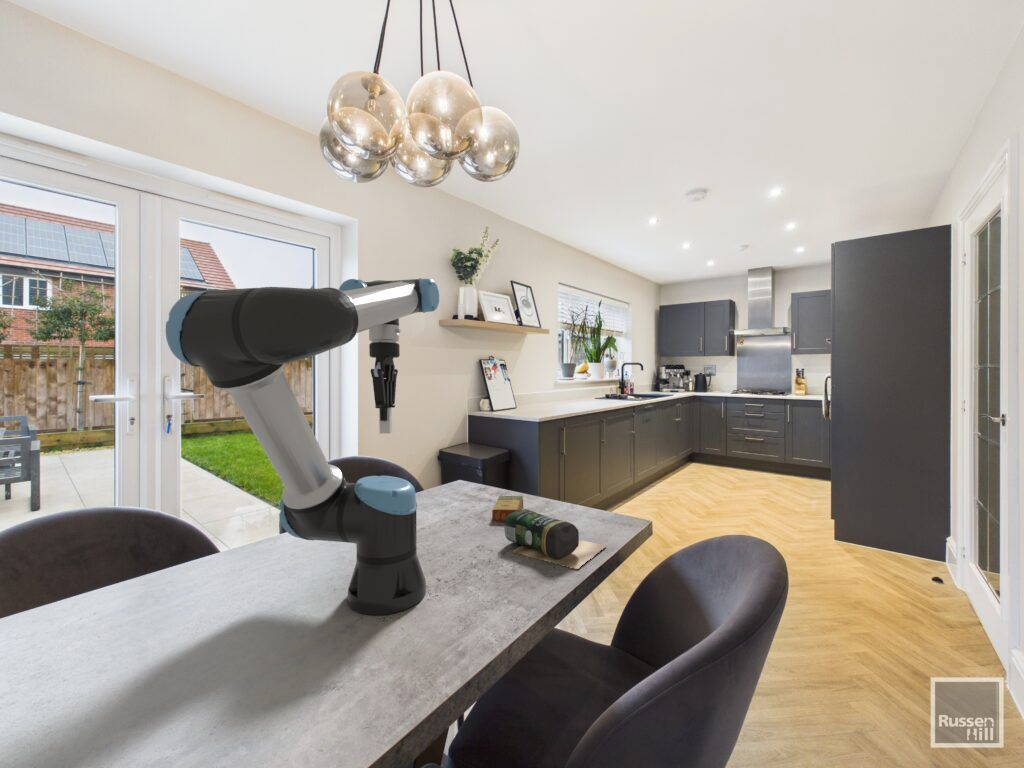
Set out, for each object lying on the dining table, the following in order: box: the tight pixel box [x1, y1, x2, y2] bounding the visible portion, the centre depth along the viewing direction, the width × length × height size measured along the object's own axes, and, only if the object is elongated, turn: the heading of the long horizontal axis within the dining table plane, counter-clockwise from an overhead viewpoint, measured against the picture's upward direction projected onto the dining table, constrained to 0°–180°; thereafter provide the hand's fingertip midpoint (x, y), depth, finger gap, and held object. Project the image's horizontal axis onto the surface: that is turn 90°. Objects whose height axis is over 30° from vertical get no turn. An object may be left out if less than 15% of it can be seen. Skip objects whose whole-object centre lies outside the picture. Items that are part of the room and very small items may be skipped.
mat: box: [512, 539, 607, 569], centre depth 113 cm, size 18×16×1 cm
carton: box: [491, 495, 524, 523], centre depth 142 cm, size 8×16×4 cm, turn 174°
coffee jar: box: [504, 508, 580, 559], centre depth 113 cm, size 10×8×19 cm
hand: (385, 433), depth 116 cm, fingers closed
